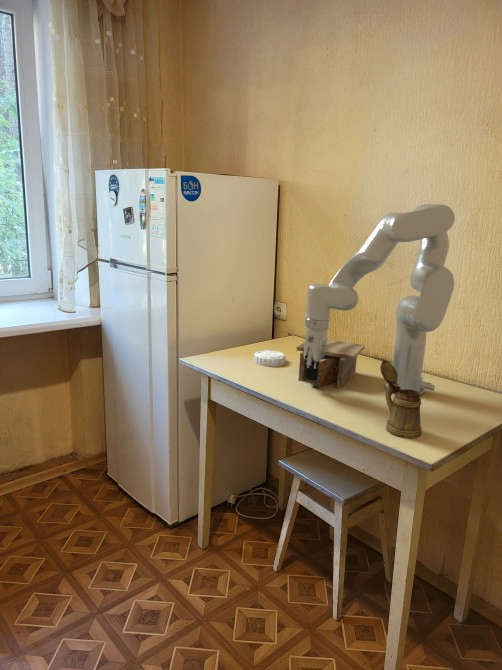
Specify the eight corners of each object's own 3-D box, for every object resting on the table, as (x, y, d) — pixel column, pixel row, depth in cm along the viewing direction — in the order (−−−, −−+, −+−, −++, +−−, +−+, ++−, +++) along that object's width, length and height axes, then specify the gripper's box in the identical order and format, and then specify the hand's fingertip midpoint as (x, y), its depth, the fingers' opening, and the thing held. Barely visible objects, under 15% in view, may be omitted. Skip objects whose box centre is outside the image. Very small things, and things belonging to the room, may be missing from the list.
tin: (312, 389, 167) (313, 364, 165) (305, 386, 169) (306, 362, 168) (340, 379, 178) (341, 356, 176) (332, 378, 180) (333, 354, 178)
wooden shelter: (362, 373, 186) (365, 345, 183) (348, 389, 169) (351, 358, 166) (309, 364, 194) (311, 337, 191) (291, 378, 177) (293, 348, 174)
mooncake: (289, 361, 199) (290, 352, 198) (278, 369, 188) (279, 359, 187) (261, 356, 203) (261, 347, 202) (248, 364, 192) (249, 354, 192)
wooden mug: (385, 416, 147) (392, 356, 143) (427, 433, 137) (436, 369, 133) (366, 423, 142) (372, 361, 138) (408, 441, 132) (417, 375, 128)
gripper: (321, 330, 153) (316, 388, 157) (334, 321, 166) (329, 375, 170) (297, 326, 155) (293, 383, 160) (312, 318, 169) (308, 371, 173)
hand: (311, 379), depth 165 cm, fingers closed
